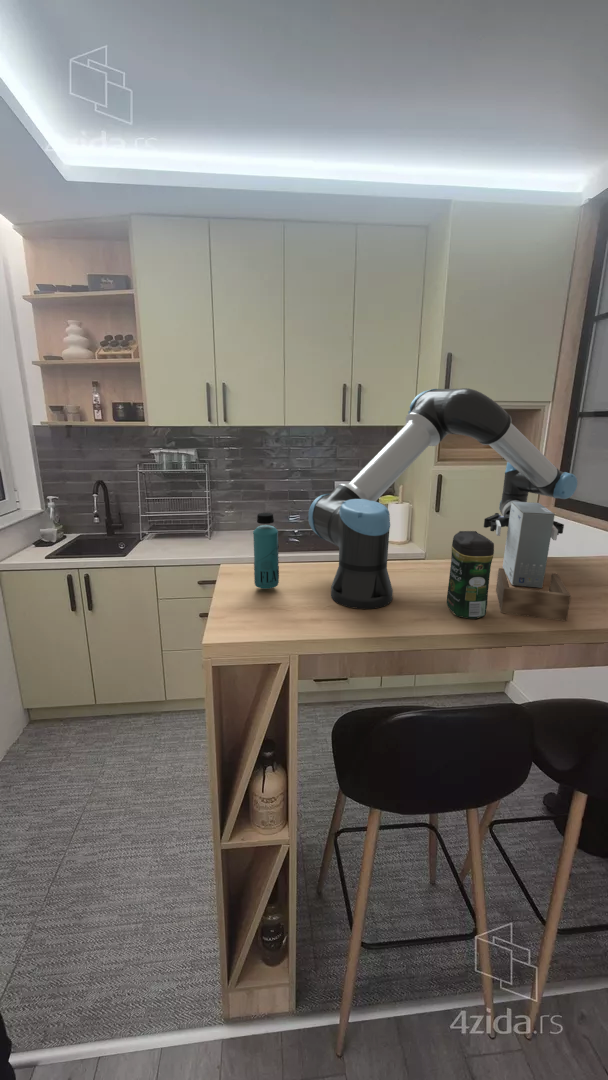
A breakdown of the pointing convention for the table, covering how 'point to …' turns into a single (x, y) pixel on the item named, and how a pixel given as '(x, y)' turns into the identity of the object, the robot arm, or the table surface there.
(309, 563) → the table surface
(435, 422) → the robot arm
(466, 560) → the coffee jar
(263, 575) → the beverage bottle
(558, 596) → the walnut crate
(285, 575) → the table surface
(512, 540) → the hard drive box
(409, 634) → the table surface
